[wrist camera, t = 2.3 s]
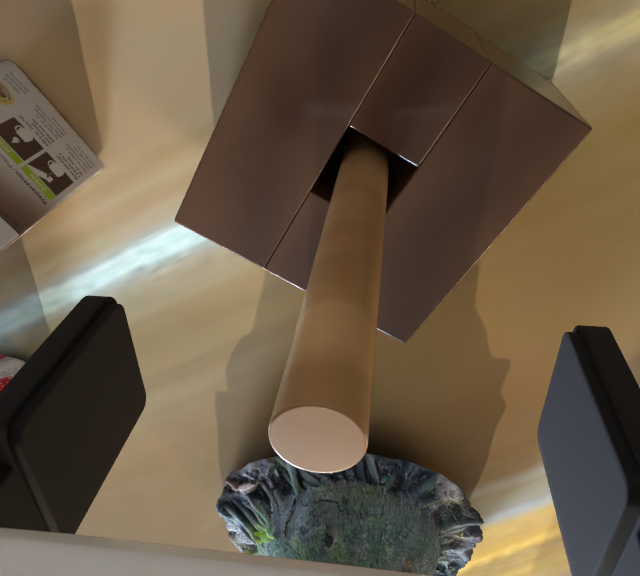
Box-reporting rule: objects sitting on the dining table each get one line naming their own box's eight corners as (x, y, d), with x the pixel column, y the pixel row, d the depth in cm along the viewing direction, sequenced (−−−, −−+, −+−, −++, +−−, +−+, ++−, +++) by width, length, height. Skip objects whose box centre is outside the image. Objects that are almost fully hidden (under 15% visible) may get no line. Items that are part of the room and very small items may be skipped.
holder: (216, 165, 27) (173, 221, 22) (324, -68, 21) (299, -65, 16) (405, 271, 29) (405, 344, 24) (553, 83, 23) (594, 128, 18)
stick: (344, 134, 25) (251, 447, 10) (364, 99, 24) (295, 388, 9) (377, 154, 25) (336, 486, 10) (399, 121, 24) (387, 434, 10)
